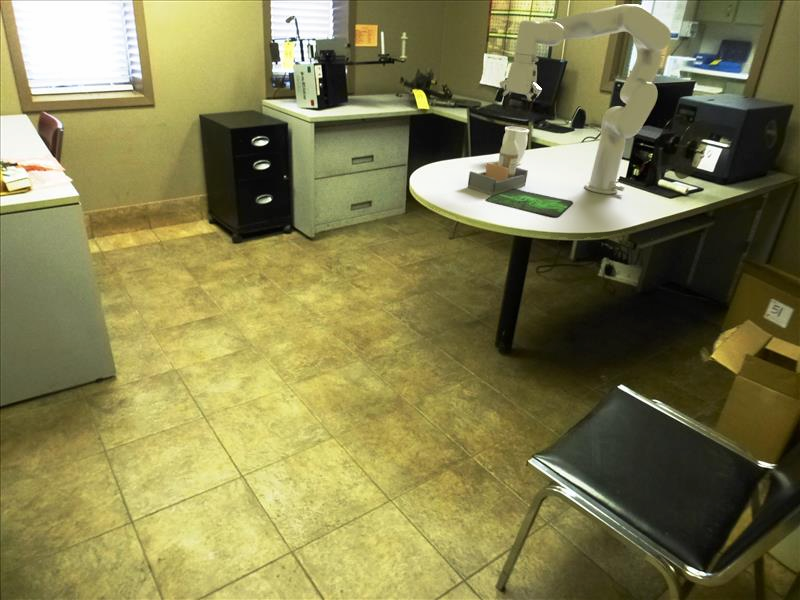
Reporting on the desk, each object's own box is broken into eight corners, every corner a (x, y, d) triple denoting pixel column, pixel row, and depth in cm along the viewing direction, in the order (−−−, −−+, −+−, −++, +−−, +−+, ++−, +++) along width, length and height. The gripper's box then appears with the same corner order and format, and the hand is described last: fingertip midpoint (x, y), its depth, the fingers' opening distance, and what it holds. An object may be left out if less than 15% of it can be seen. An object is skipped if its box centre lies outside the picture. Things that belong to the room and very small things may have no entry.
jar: (516, 159, 260) (522, 126, 253) (527, 165, 251) (533, 131, 244) (495, 160, 257) (500, 125, 249) (506, 166, 248) (511, 131, 241)
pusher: (505, 186, 216) (508, 168, 213) (497, 188, 213) (500, 170, 209) (486, 180, 221) (488, 162, 218) (478, 182, 218) (480, 164, 215)
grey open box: (525, 185, 224) (527, 170, 221) (492, 195, 209) (494, 179, 206) (500, 178, 231) (503, 163, 228) (467, 187, 216) (469, 171, 213)
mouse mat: (482, 201, 203) (482, 199, 203) (504, 187, 220) (504, 185, 220) (557, 219, 192) (557, 216, 192) (574, 203, 209) (574, 201, 209)
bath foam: (503, 185, 218) (512, 132, 209) (491, 180, 223) (499, 128, 214) (517, 183, 222) (526, 131, 212) (504, 178, 227) (513, 127, 217)
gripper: (551, 62, 199) (542, 113, 207) (510, 56, 209) (502, 104, 217) (540, 63, 194) (531, 114, 202) (498, 56, 204) (491, 106, 212)
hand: (516, 109), depth 210 cm, fingers open, 9 cm apart
